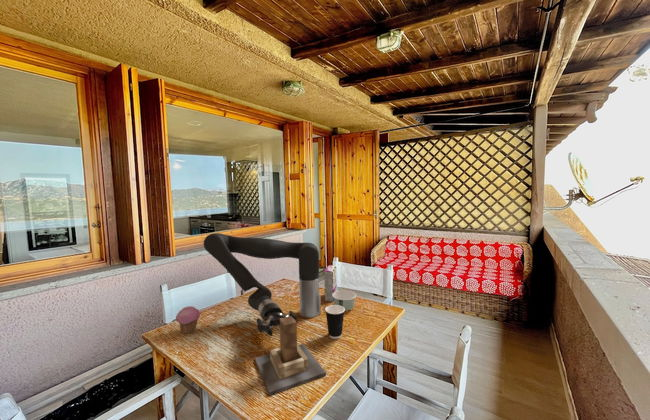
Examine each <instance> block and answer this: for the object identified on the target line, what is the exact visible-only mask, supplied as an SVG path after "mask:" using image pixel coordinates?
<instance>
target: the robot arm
mask: <svg viewBox="0 0 650 420" xmlns="http://www.w3.org/2000/svg"><path fill="white" fill-rule="evenodd" d="M203 248H204V250H205V251H206V252H208V254H210V255H211V256H212V257H213V258H214V259H215V260H216V261H218V263H220V265H222V267H223V268H225V270H226V271H227V272H228V273H229V275H230V276H231V277H232V278H233V279H234V281H235V282H236V284H238V286H239V287H240V288H241V289H242V291H244V292H247V291H249V290H251V289H254V288H257V289H256V290H255V291H254V292H253V293H251V294H250V295H249V297H248V298H247V304H248V305H249V306H250V307H251V308H252V309H253V310H255V311H258V313H259V316H260V318H259V317H257V318H256V328H257V329H258V333H263V332H266V335H268V336H270V337H272V336H273V329H272V328H273V327H276V326H280V318H284V317H289V316H292V317H293V318H294V320H295V321H296V322H297V323H298V315H296V313H294V312H293V311H292V310H289V311H288V313H285V312H283V310H282V309H281V307H280V306H279V305H278V304H277V303H276V302H275V301H274V300H273V299H272V297H273V296H272V291H271V289H269V287H267V286H265V285H264V284H262V283H260V281H258V280H257V279H256V278H255V277H254V276H253V275H254V274H252V273H251V272H250V271H249V269H248V268H247V267H246V266H245V265H244V264H243V263H242V262H240V261H239V259H237V258H236V256H235V255H234V254H235V253H236V254H242V255H244V256H248V257H251V258H252V257H253V258H255V259H264V260H272V259H275V260H276V259H283V258H291V259H298V277H299V279H298V280H299V281H298V285H299V287H298V288H299V289H298V291H299V296H298V297H299V316H301V317H303V318H311V319H312V318H315V317H317V316H318V315H321V314H322V299H321V297H322V295H321V293H320V285H319V284H320V253H319V249H318V247H317V246H316V245H315V244H314V243H312V242H291V241H285V240H279V239H271V238H265V237H241V236H239V237H238V236H233V235H228V234H224V233H220V232H218V233H216V232H215V233H210V234H208V235H207V236H205V238H204V239H203Z"/></svg>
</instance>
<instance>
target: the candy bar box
mask: <svg viewBox="0 0 650 420" xmlns="http://www.w3.org/2000/svg"><path fill="white" fill-rule="evenodd" d="M323 272H324V275H323V276H324V301H325V302H331V303H334V299H333V296H332V294H333V293H334V292H336V291H338V287H337V286H338V285H337V282H338V281H337V280H338V279H337V265H332V264H331V265H330V264H329V265H327V267H326V269H324V271H323Z"/></svg>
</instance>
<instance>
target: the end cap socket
mask: <svg viewBox="0 0 650 420" xmlns="http://www.w3.org/2000/svg"><path fill="white" fill-rule="evenodd" d="M254 361H255V364H256V366H257V369H258V371H259V374H260V375H261V378H262V382H263V383H264V386H265V388H266V390H267V394H268V395H269V397H270V396H272V395H275V394H278V393H281V392H284V391H286V390H290V389H292V388H295V387H298V386H300V385H303V384H306V383H309V382H312V381H314V380H317V379H319V378H323V377H326V376H327V371H325V369H324V368H323V366H322V365H321V364H320V363H319V362H318V360H317V359H316V358H315V357H314V354H312V353H311V351H310V350H309V348H307V346H306V345H305V344H304V343H302V344H299V345H298V343H297V360H293V361H290V362H287V363H284V364H283V363H282V361H281V354H280V347H276V348H273V349H270V350H269V353H267V354H263V355H260V356H256V357H254Z"/></svg>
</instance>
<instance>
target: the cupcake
mask: <svg viewBox="0 0 650 420" xmlns="http://www.w3.org/2000/svg"><path fill="white" fill-rule="evenodd" d="M200 317H201V312H200V310H199V309H198V308H196V307H195V306H193V305H188V306H186V307H185V306H184V307H183V308H182V309H180V310H179V311H178V312H177V314H176V316H175V321H176V322H177V323H178V324H179V328H180V332H181V333H184V334H189V333H191V332H193V331H196V329H197V325H198V321H199V320H198V319H199V318H200Z"/></svg>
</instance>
